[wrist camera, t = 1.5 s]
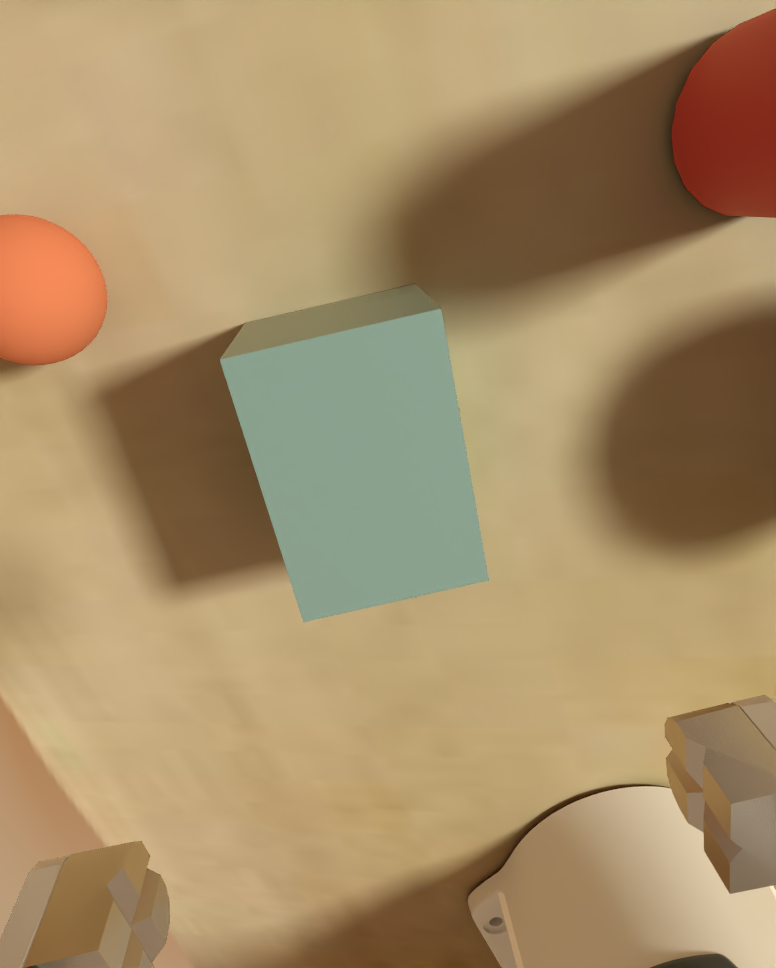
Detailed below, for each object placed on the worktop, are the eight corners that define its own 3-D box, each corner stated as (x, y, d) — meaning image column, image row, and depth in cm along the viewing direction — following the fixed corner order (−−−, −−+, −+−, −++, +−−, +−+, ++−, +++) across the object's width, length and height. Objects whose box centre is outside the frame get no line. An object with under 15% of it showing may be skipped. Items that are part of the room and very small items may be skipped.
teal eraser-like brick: (457, 504, 30) (489, 580, 24) (308, 538, 30) (303, 622, 24) (416, 283, 26) (441, 308, 20) (244, 323, 26) (219, 359, 20)
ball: (143, 333, 26) (103, 361, 22) (21, 361, 26) (-44, 395, 22) (94, 199, 24) (39, 199, 20) (-38, 229, 24) (-123, 237, 20)
